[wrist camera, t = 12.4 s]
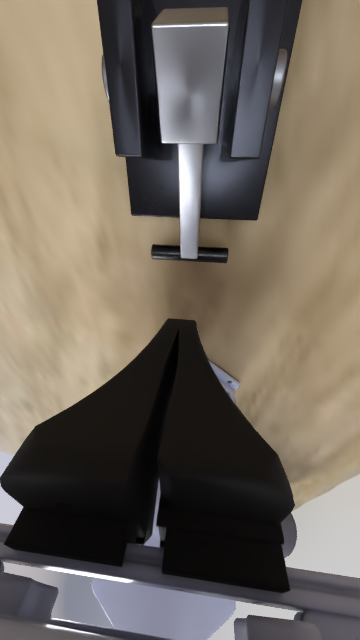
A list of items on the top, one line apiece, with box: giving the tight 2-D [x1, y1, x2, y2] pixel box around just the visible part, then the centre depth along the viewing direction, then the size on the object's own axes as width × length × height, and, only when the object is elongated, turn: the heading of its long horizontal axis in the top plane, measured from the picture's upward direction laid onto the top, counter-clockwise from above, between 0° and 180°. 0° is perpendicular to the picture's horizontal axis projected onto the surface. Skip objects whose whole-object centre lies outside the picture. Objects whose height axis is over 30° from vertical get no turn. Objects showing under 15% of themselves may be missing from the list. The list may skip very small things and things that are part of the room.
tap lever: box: [151, 7, 230, 263], centre depth 11 cm, size 10×5×2 cm, turn 178°
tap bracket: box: [97, 0, 302, 220], centre depth 10 cm, size 11×9×9 cm
